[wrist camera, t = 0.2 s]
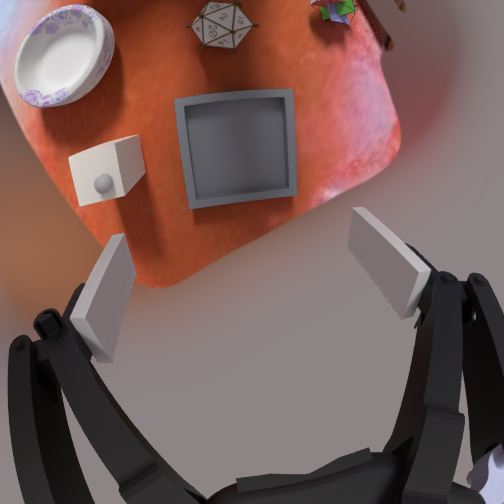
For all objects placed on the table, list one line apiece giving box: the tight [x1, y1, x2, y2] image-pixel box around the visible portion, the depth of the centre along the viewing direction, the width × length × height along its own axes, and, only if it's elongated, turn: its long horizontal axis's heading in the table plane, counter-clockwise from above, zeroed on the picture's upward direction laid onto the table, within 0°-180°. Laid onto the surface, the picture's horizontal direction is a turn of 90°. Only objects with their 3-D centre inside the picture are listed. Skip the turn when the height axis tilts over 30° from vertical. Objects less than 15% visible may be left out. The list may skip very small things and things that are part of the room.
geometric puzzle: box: [310, 0, 360, 25], centre depth 26 cm, size 7×7×8 cm
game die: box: [184, 0, 260, 54], centre depth 26 cm, size 9×8×10 cm
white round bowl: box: [14, 4, 115, 108], centre depth 23 cm, size 15×15×8 cm
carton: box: [68, 134, 146, 206], centre depth 30 cm, size 6×6×13 cm
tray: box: [174, 89, 297, 209], centre depth 37 cm, size 16×16×3 cm
